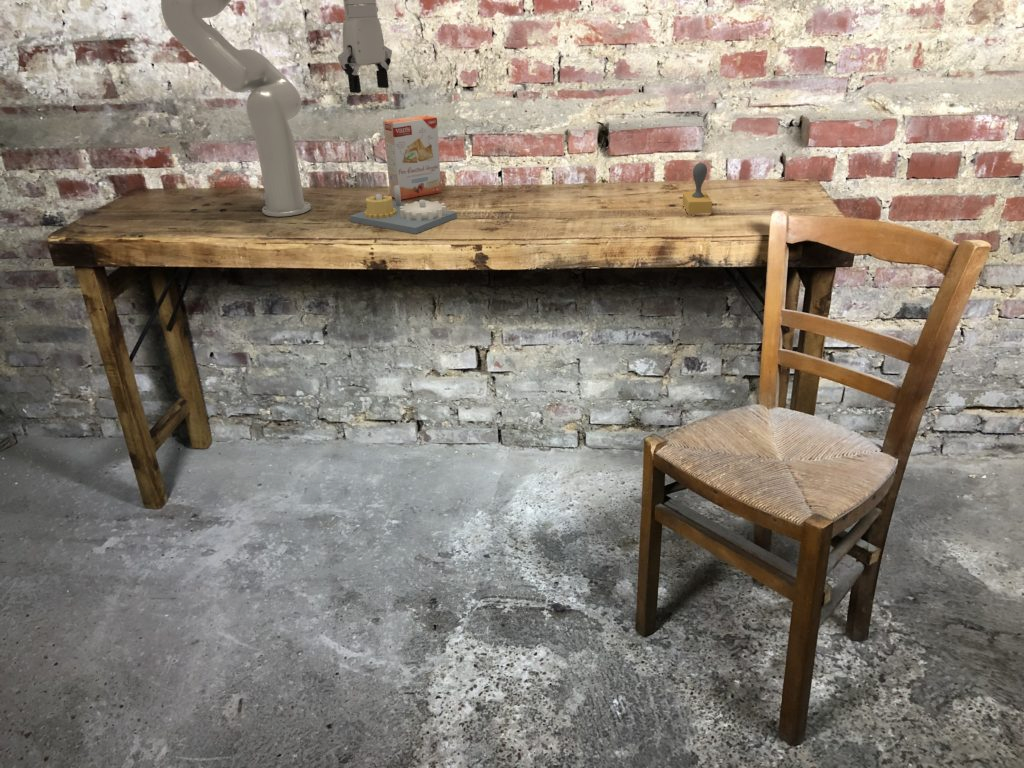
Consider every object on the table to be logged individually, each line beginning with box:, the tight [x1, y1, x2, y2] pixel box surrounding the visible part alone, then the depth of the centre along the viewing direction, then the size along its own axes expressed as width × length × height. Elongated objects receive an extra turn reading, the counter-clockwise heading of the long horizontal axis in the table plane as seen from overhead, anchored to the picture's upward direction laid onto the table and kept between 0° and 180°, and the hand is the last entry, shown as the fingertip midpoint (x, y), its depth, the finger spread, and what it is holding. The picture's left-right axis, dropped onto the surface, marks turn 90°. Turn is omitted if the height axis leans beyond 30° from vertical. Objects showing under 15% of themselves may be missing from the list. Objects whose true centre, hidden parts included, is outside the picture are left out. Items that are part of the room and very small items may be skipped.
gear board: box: [349, 185, 458, 235], centre depth 192 cm, size 22×16×6 cm
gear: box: [364, 194, 397, 219], centre depth 193 cm, size 8×8×4 cm
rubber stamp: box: [682, 162, 713, 214], centre depth 191 cm, size 10×6×12 cm, turn 177°
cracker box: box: [382, 114, 442, 201], centre depth 211 cm, size 14×6×21 cm, turn 126°
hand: (369, 90), depth 187 cm, fingers open, 9 cm apart
